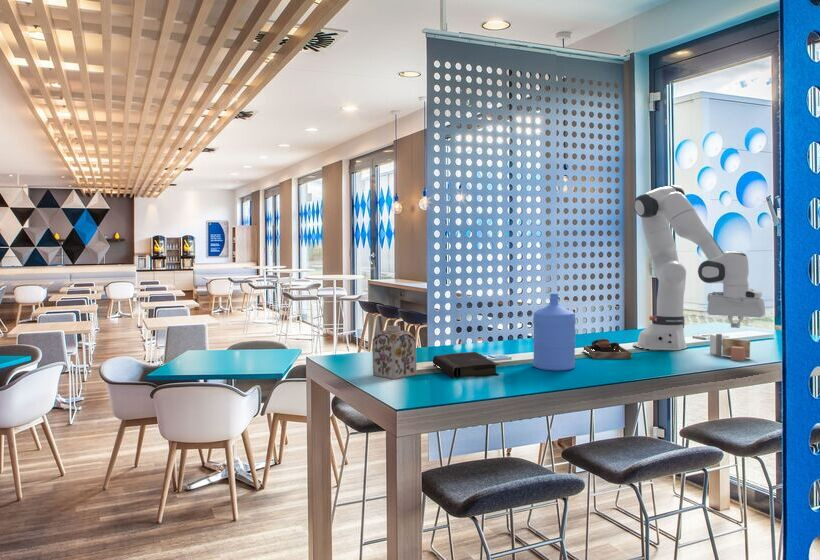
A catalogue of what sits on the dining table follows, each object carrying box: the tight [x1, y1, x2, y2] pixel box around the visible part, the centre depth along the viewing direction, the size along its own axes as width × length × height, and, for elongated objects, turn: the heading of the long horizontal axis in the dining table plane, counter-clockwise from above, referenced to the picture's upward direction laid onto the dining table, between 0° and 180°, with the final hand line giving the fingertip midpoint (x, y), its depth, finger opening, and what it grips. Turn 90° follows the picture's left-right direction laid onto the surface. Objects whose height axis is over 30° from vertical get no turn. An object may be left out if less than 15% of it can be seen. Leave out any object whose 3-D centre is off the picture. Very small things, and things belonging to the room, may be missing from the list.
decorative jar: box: [372, 325, 418, 381], centre depth 229 cm, size 12×12×18 cm
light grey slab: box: [709, 333, 723, 357], centre depth 264 cm, size 2×8×9 cm, turn 178°
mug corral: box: [583, 345, 633, 360], centre depth 266 cm, size 15×17×2 cm
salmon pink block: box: [730, 346, 747, 361], centre depth 253 cm, size 4×4×5 cm
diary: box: [432, 351, 500, 379], centre depth 237 cm, size 19×25×5 cm
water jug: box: [532, 293, 576, 372], centre depth 241 cm, size 16×16×28 cm
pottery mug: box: [590, 338, 620, 352], centre depth 264 cm, size 12×10×8 cm
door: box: [722, 337, 751, 359], centre depth 257 cm, size 10×2×7 cm, turn 49°
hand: (735, 327), depth 248 cm, fingers closed
